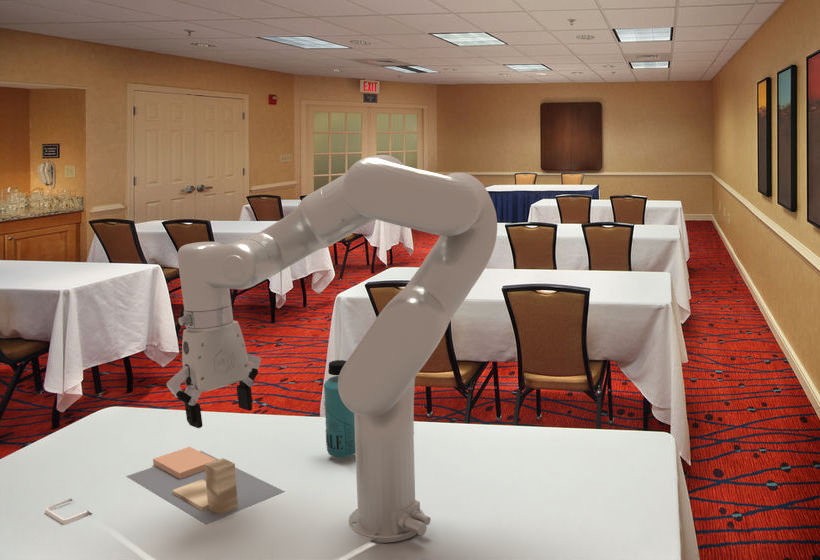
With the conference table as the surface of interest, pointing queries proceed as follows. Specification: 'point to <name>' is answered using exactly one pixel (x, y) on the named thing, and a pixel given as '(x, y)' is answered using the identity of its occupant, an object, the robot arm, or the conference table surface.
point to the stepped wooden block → (212, 488)
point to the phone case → (67, 520)
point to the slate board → (164, 482)
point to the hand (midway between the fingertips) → (221, 417)
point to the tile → (183, 462)
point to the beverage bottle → (338, 416)
